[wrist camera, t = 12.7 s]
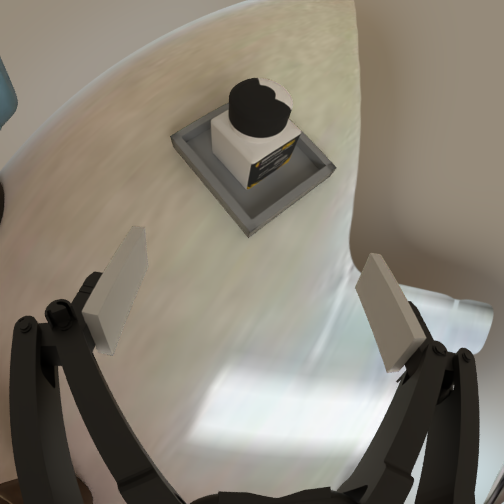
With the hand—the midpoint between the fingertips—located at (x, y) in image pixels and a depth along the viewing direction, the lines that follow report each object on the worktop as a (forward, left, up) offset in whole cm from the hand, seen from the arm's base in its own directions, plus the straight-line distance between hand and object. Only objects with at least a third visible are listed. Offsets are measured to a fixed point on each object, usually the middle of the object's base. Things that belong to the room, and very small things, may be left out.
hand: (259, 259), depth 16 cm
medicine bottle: (-12, +11, -16) cm, 23 cm away
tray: (-12, +11, -16) cm, 23 cm away
